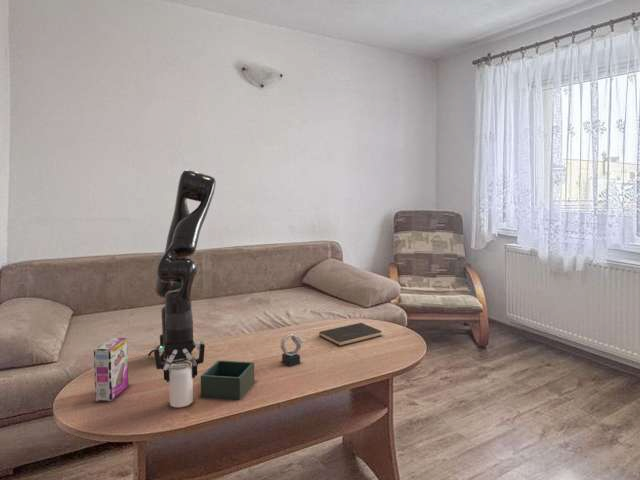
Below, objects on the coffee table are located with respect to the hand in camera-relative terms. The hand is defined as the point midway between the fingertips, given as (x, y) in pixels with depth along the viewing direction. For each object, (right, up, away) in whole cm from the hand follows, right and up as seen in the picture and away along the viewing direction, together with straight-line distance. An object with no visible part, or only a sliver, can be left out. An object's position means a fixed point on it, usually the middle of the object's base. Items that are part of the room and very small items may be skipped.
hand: (180, 378), depth 131 cm
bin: (+11, -7, +11) cm, 17 cm away
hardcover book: (+47, -1, +65) cm, 80 cm away
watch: (+27, -4, +34) cm, 43 cm away
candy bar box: (-24, -7, +6) cm, 25 cm away
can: (0, -8, +1) cm, 8 cm away
